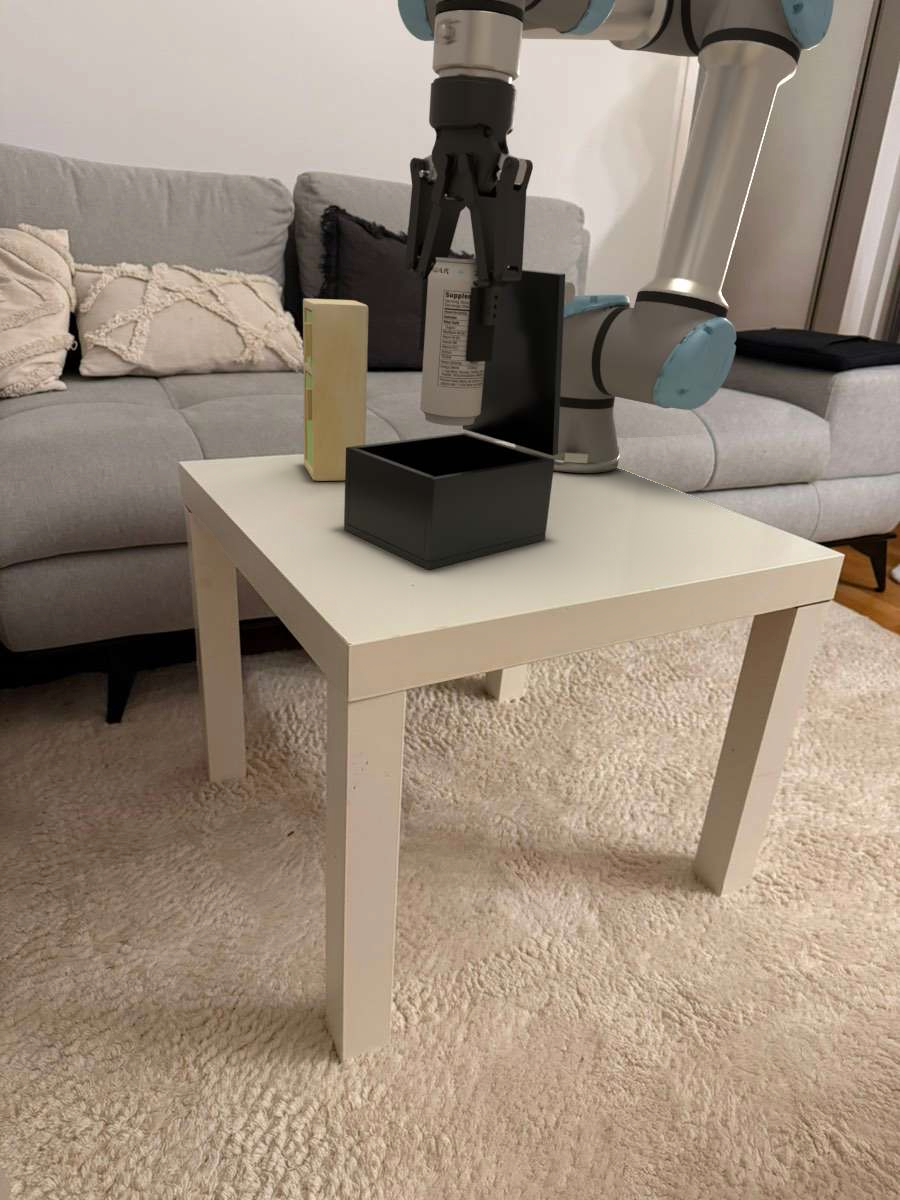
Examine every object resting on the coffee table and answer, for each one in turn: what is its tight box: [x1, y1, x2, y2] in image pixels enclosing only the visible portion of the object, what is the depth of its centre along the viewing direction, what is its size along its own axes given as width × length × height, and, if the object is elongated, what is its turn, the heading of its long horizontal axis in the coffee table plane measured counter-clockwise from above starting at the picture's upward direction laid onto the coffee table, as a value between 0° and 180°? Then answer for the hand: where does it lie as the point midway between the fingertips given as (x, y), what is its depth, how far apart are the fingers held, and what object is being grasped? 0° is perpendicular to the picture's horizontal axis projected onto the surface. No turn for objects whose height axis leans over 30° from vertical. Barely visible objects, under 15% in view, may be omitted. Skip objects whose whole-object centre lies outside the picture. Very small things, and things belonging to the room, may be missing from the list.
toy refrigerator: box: [302, 298, 369, 482], centre depth 105 cm, size 8×7×21 cm
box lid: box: [462, 268, 576, 456], centre depth 89 cm, size 18×14×6 cm
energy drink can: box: [419, 257, 485, 427], centre depth 82 cm, size 6×6×15 cm
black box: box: [343, 432, 555, 571], centre depth 88 cm, size 17×14×9 cm
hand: (454, 355), depth 82 cm, fingers closed on energy drink can, 6 cm apart
